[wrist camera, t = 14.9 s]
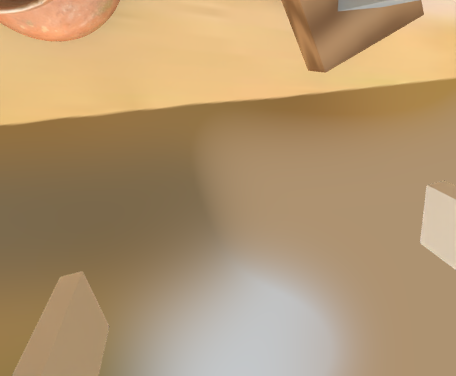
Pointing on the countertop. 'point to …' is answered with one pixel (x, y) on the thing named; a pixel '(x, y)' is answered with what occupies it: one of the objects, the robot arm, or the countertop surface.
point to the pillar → (367, 4)
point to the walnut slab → (343, 28)
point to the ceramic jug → (56, 17)
